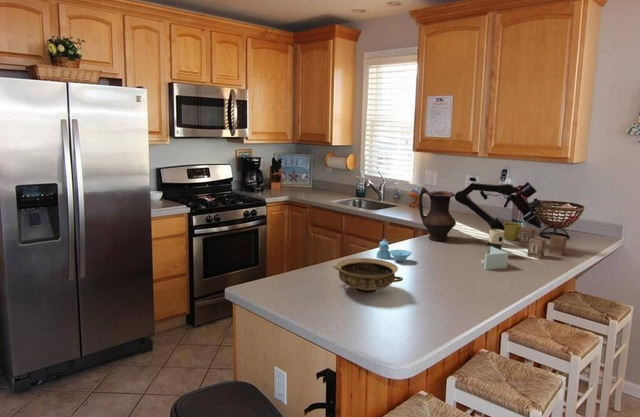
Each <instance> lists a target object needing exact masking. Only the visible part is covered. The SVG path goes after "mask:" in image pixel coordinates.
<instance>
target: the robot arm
mask: <svg viewBox="0 0 640 417" xmlns="http://www.w3.org/2000/svg"><path fill="white" fill-rule="evenodd" d="M473 191H477V192H478V191H479V192H490V193H491V192H492V193H498V194H500V195H503V196H507V197H506V203H509V202H512V204H513V205H514V206H515V207H516V208H517V211H519V212H520V213H521V214H522V216H523V217H522V220H523V221H524V222H525V223H528V224H530V225H532V226H534V227H535V228H538V229H541V228H542V225H543V224H542V222H541V220H540V217H538V210H537V208H540V207H543V204H542V200H541V199H538V198H534V199H533V201H530V202H529V201H527V200H526V199H525V198H527V199H529V198H530V197H531V196H532V195H534V194H535V193H536V194H537V192H538V191H537V189H536V187H534V186H533V185H532V184H531V183H530V182H528V181H527V182H525V183H524V185H522V186H520V187H517V186H514V185H513V184H511V183H502V184H492V183H491V184H489V183H476V182H471V183H470V184H468V185H467V186H466V187H465V188H464V189H462V190H459V191H457V192H456V193H454V194H455V196H454V200H455V201H456V202H458V203H460V204H461V205H464V206H466V207H468V209H470V210H471V211H473V212H474V213H475V214H476V215H477V216H479V217H480V218H481V219H482V220H483V221H485V222H486V223H487V224H488V226H489V227H490V229H499V230H503V231H504V229H505V224H504V220H503V219H501V218H500V217H499V216H496V217H494V216H492V215H491V214H489V212H487V211H486V210H485V209H484V208H482V207H481V206H480V205H478V204H477V203H476V201H474V200H473V199H472V198H471V197H470V196H469V194H471V193H472V192H473ZM490 244H491V243H490V242H489V239H488V242H487V243H485V245H486V246H488V247H490ZM502 245H503V244H501V246H502Z"/></svg>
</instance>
